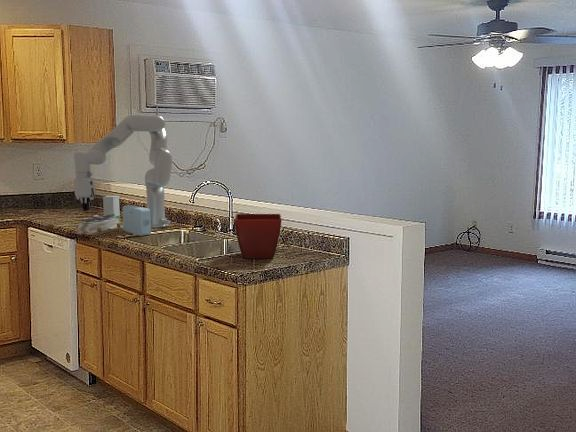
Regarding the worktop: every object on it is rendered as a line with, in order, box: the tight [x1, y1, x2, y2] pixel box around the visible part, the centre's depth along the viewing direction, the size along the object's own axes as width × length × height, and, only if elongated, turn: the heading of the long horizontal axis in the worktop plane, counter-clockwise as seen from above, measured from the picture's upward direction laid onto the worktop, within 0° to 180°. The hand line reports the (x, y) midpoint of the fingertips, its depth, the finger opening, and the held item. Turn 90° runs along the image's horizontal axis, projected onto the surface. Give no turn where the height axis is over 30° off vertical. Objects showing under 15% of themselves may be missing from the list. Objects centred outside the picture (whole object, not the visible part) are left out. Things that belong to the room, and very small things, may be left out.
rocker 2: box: [91, 214, 106, 221], centre depth 364 cm, size 6×4×2 cm, turn 66°
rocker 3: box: [100, 214, 115, 219], centre depth 371 cm, size 6×4×2 cm, turn 66°
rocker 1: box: [81, 217, 96, 223], centre depth 357 cm, size 6×4×2 cm, turn 66°
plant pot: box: [234, 213, 282, 259], centre depth 291 cm, size 19×19×17 cm
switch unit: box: [74, 218, 124, 236], centre depth 364 cm, size 14×26×5 cm, turn 156°
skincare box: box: [102, 195, 121, 223], centre depth 390 cm, size 8×7×16 cm
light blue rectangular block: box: [122, 204, 152, 237], centre depth 356 cm, size 23×6×13 cm, turn 36°
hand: (86, 210), depth 358 cm, fingers closed
